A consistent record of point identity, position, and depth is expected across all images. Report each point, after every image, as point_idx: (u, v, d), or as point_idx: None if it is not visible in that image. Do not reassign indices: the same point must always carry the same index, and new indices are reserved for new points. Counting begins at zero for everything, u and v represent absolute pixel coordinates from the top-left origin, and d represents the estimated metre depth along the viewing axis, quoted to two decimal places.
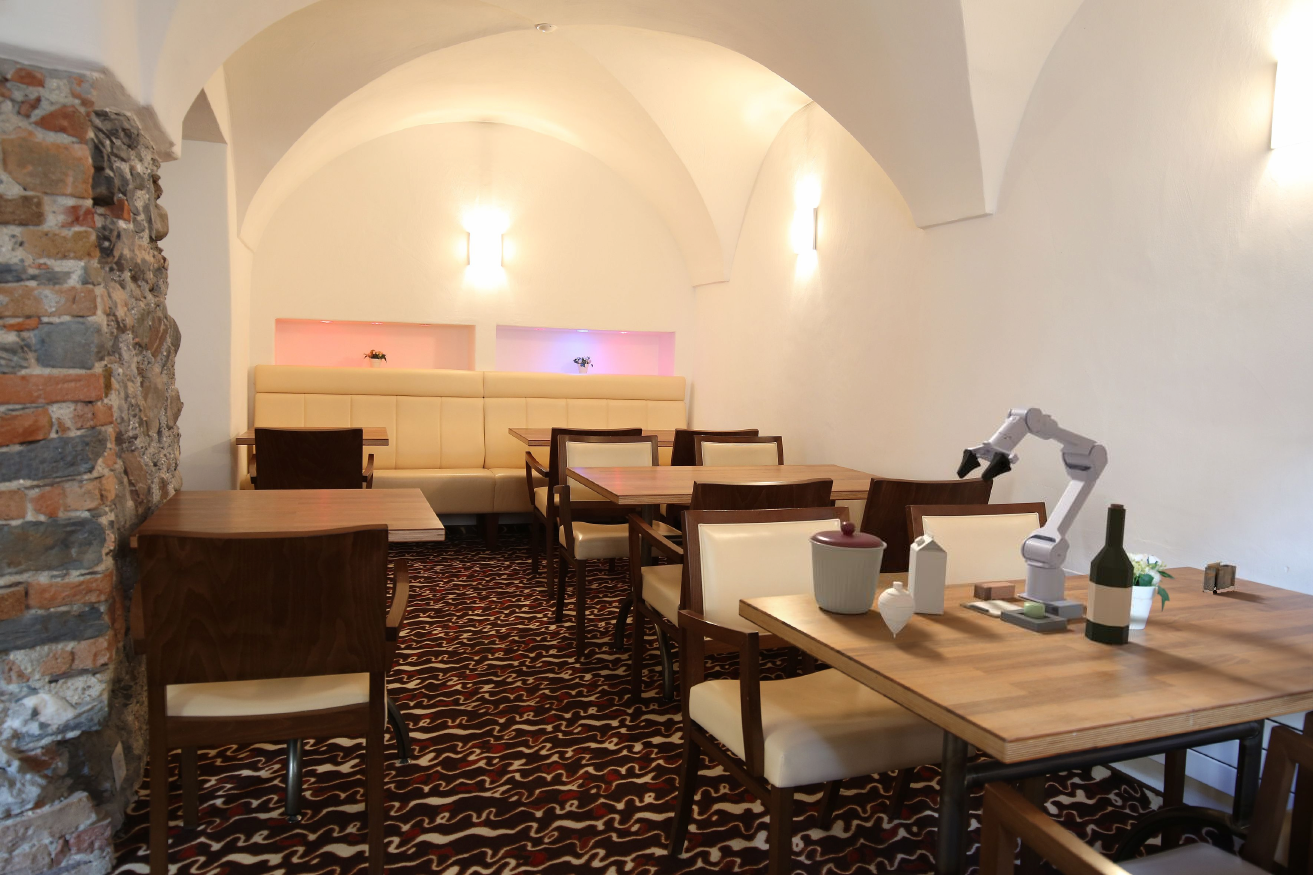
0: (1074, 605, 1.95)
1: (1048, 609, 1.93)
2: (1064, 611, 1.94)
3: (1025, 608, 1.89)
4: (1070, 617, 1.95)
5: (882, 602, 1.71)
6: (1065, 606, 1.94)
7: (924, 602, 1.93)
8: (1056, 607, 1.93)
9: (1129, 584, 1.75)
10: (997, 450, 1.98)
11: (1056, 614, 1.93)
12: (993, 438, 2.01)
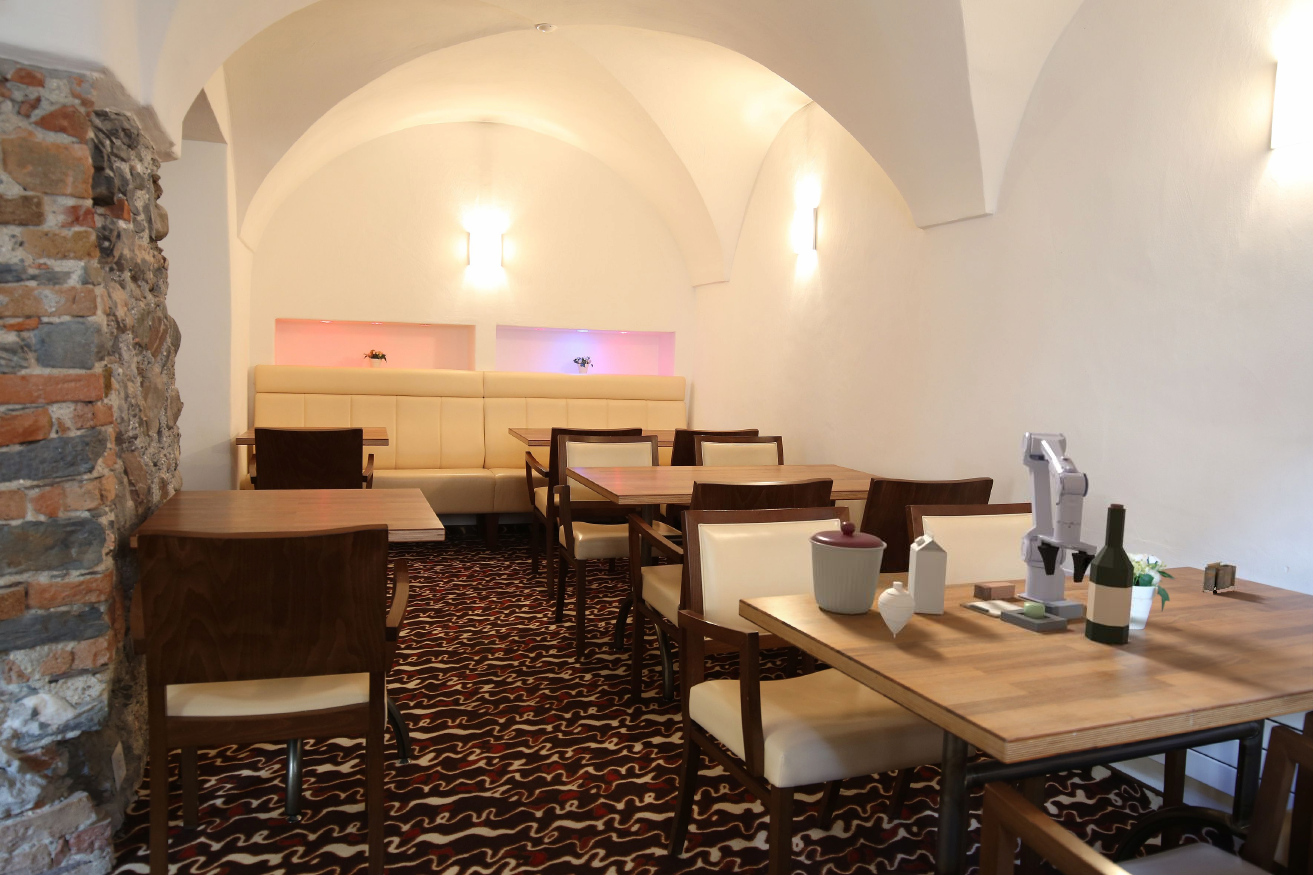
0: (1074, 605, 1.95)
1: (1048, 609, 1.93)
2: (1064, 611, 1.94)
3: (1025, 608, 1.89)
4: (1070, 617, 1.95)
5: (882, 602, 1.71)
6: (1065, 606, 1.94)
7: (924, 602, 1.93)
8: (1056, 607, 1.93)
9: (1129, 584, 1.75)
10: None
11: (1056, 614, 1.93)
12: (1058, 531, 1.94)
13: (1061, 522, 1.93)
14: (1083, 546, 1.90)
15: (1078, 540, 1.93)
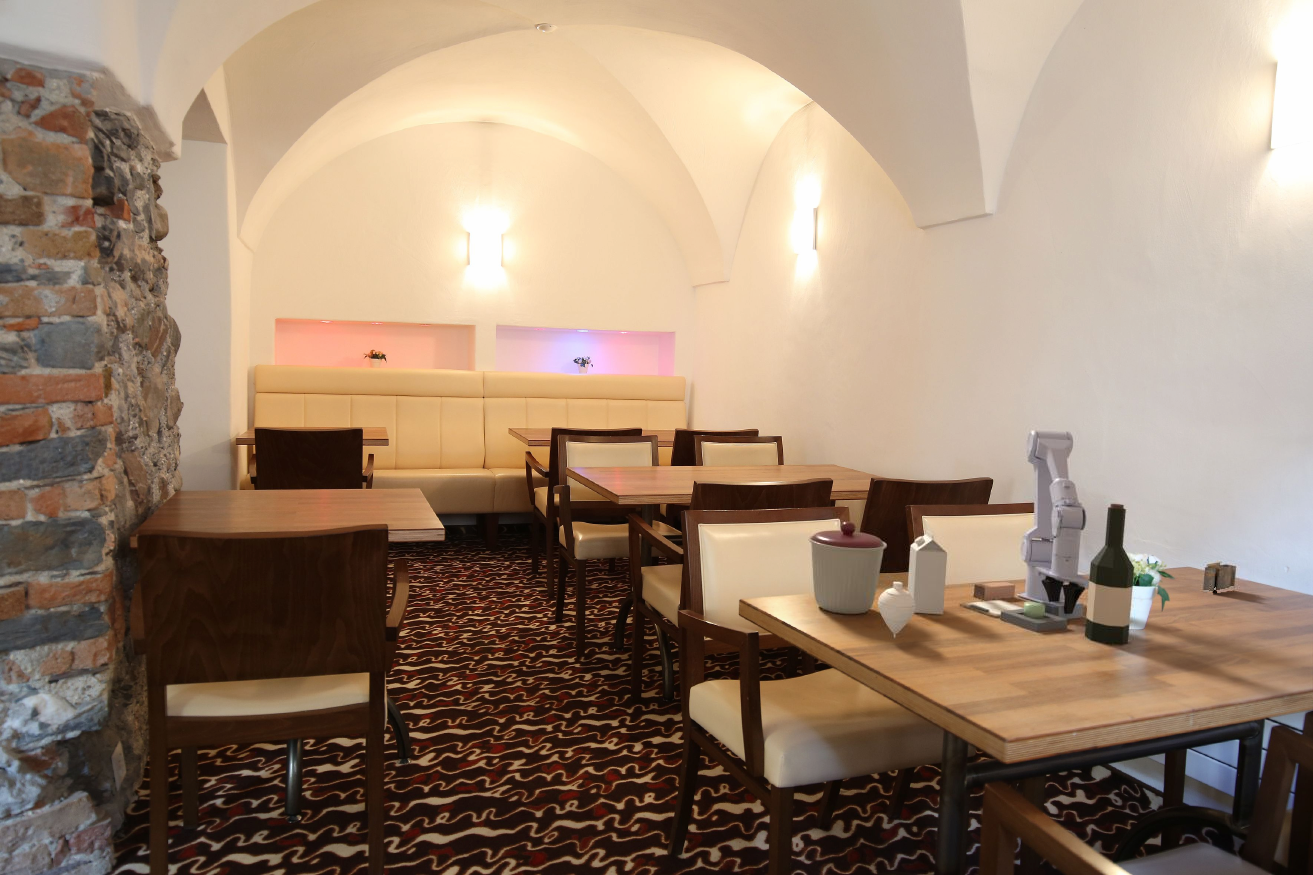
0: None
1: (1048, 609, 1.93)
2: None
3: (1025, 608, 1.89)
4: (1070, 617, 1.95)
5: (882, 602, 1.71)
6: None
7: (924, 602, 1.93)
8: (1056, 607, 1.93)
9: (1129, 584, 1.75)
10: (1068, 579, 1.92)
11: (1056, 614, 1.93)
12: (1056, 564, 1.94)
13: (1059, 555, 1.94)
14: (1081, 580, 1.90)
15: (1076, 573, 1.93)
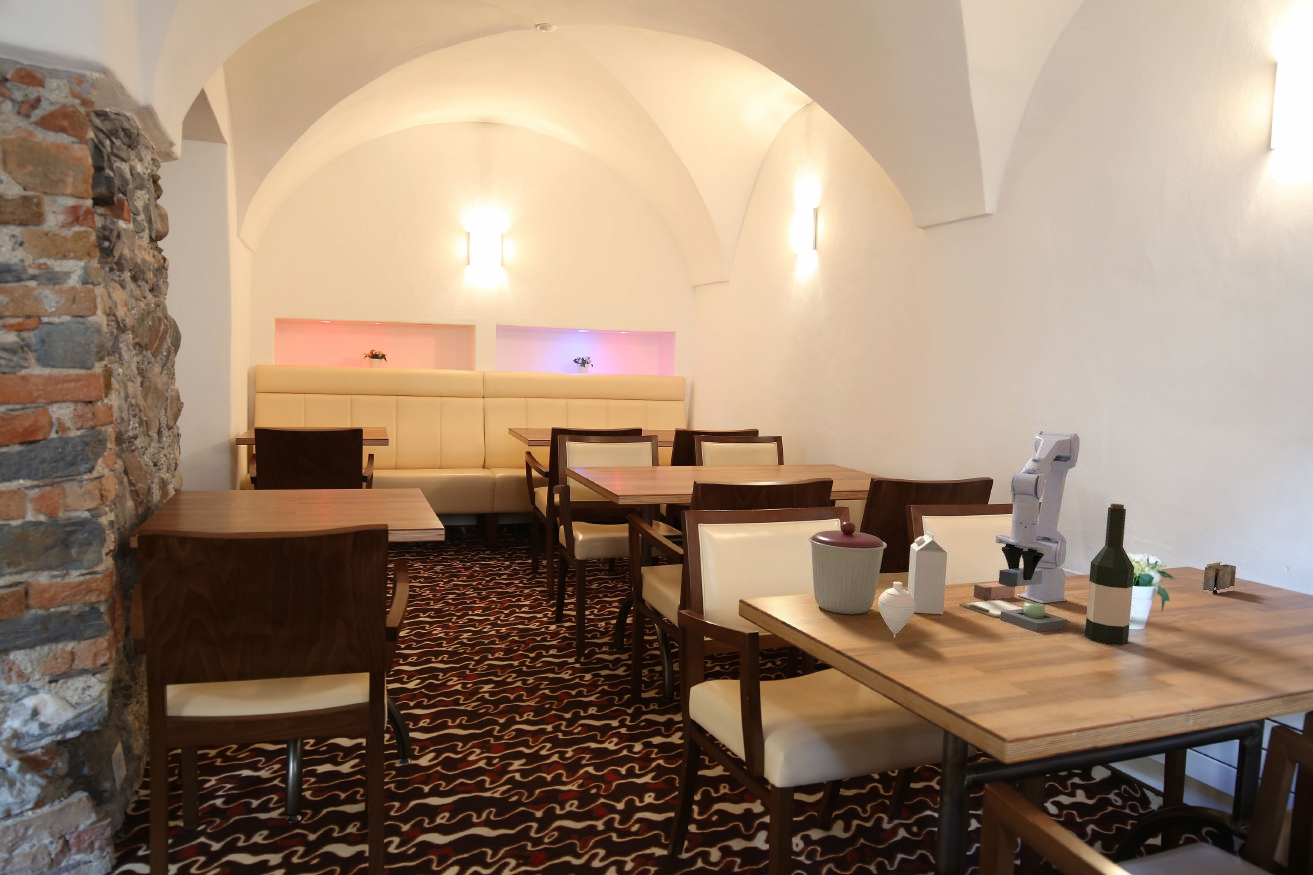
0: None
1: (1008, 575, 1.95)
2: None
3: (1025, 608, 1.89)
4: (1029, 583, 1.98)
5: (882, 602, 1.71)
6: None
7: (924, 602, 1.93)
8: (1015, 573, 1.95)
9: (1129, 584, 1.75)
10: None
11: (1015, 580, 1.95)
12: (1015, 531, 1.97)
13: (1018, 522, 1.96)
14: (1039, 546, 1.93)
15: (1034, 540, 1.96)
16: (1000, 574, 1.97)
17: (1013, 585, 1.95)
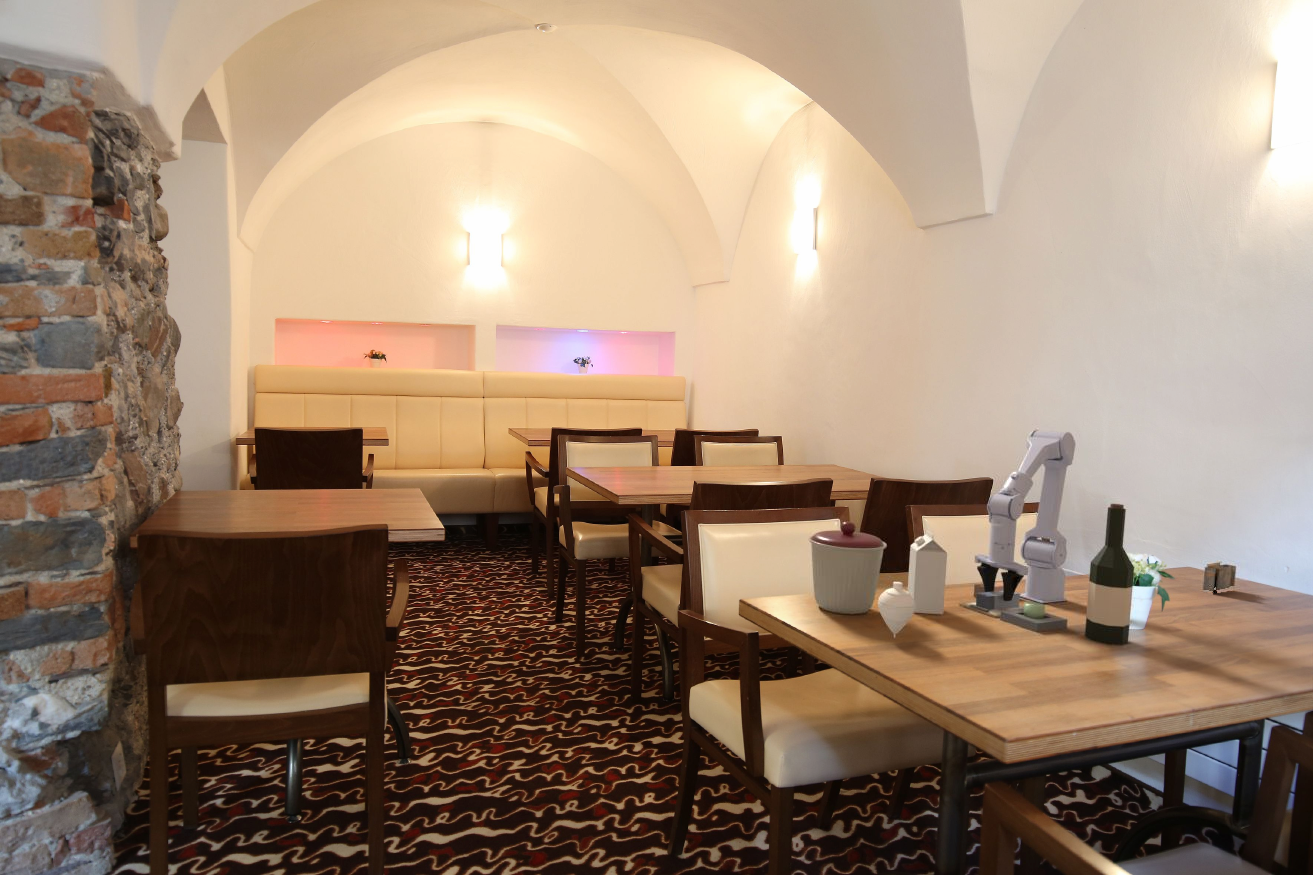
0: None
1: (984, 599, 1.97)
2: (999, 600, 1.99)
3: (1025, 608, 1.89)
4: (1006, 607, 2.00)
5: (882, 602, 1.71)
6: (1001, 596, 1.99)
7: (924, 602, 1.93)
8: (992, 597, 1.97)
9: (1129, 584, 1.75)
10: (1004, 566, 1.97)
11: (992, 603, 1.97)
12: (992, 551, 1.99)
13: (995, 543, 1.98)
14: (1015, 567, 1.95)
15: (1011, 560, 1.98)
16: (977, 598, 1.99)
17: (990, 608, 1.97)
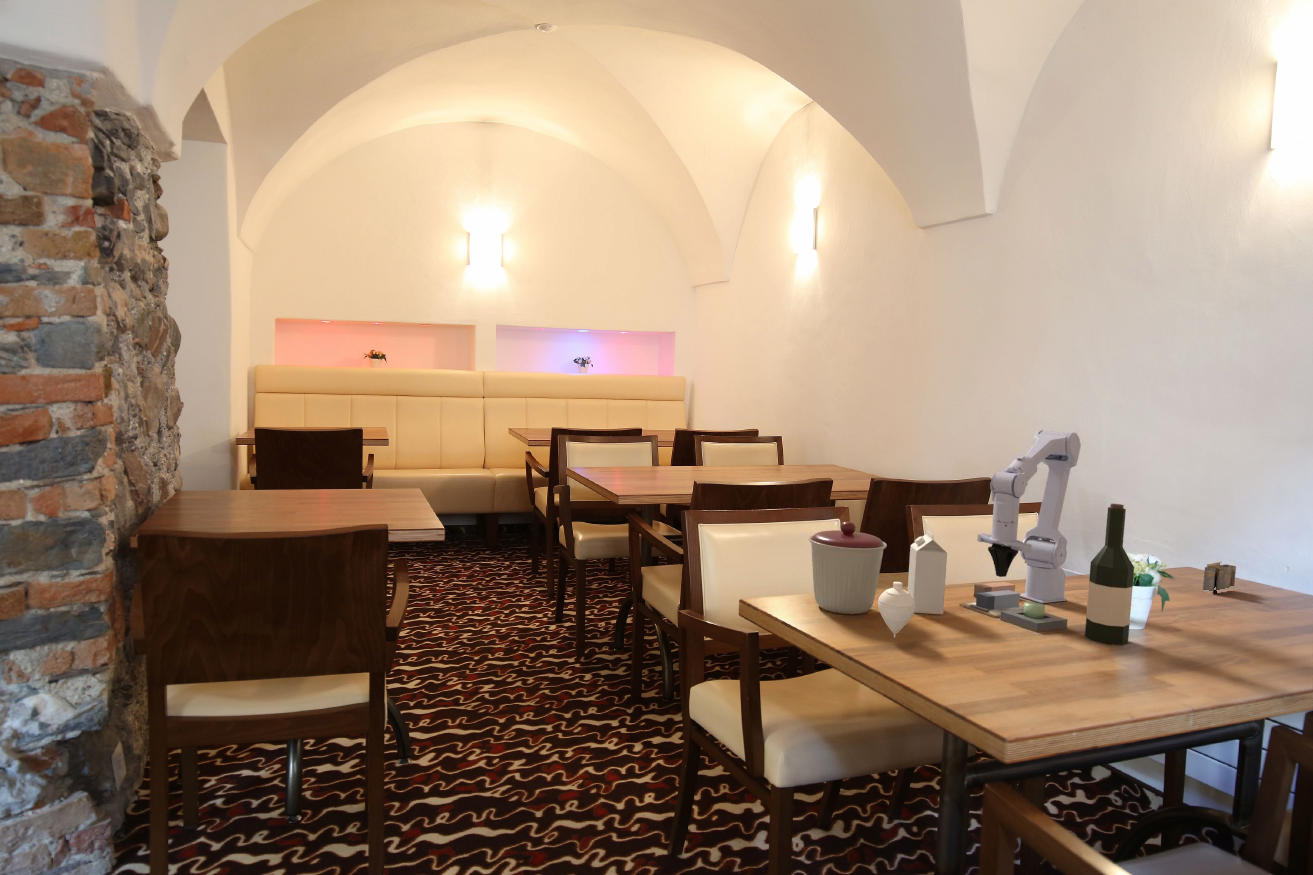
0: (1010, 595, 2.00)
1: (984, 599, 1.97)
2: (999, 600, 1.99)
3: (1025, 608, 1.89)
4: (1006, 607, 2.00)
5: (882, 602, 1.71)
6: (1001, 596, 1.99)
7: (924, 602, 1.93)
8: (992, 597, 1.97)
9: (1129, 584, 1.75)
10: (1007, 544, 1.96)
11: (992, 603, 1.97)
12: (995, 529, 1.98)
13: (998, 521, 1.97)
14: (1018, 544, 1.94)
15: (1014, 538, 1.97)
16: (977, 598, 1.99)
17: (990, 608, 1.97)
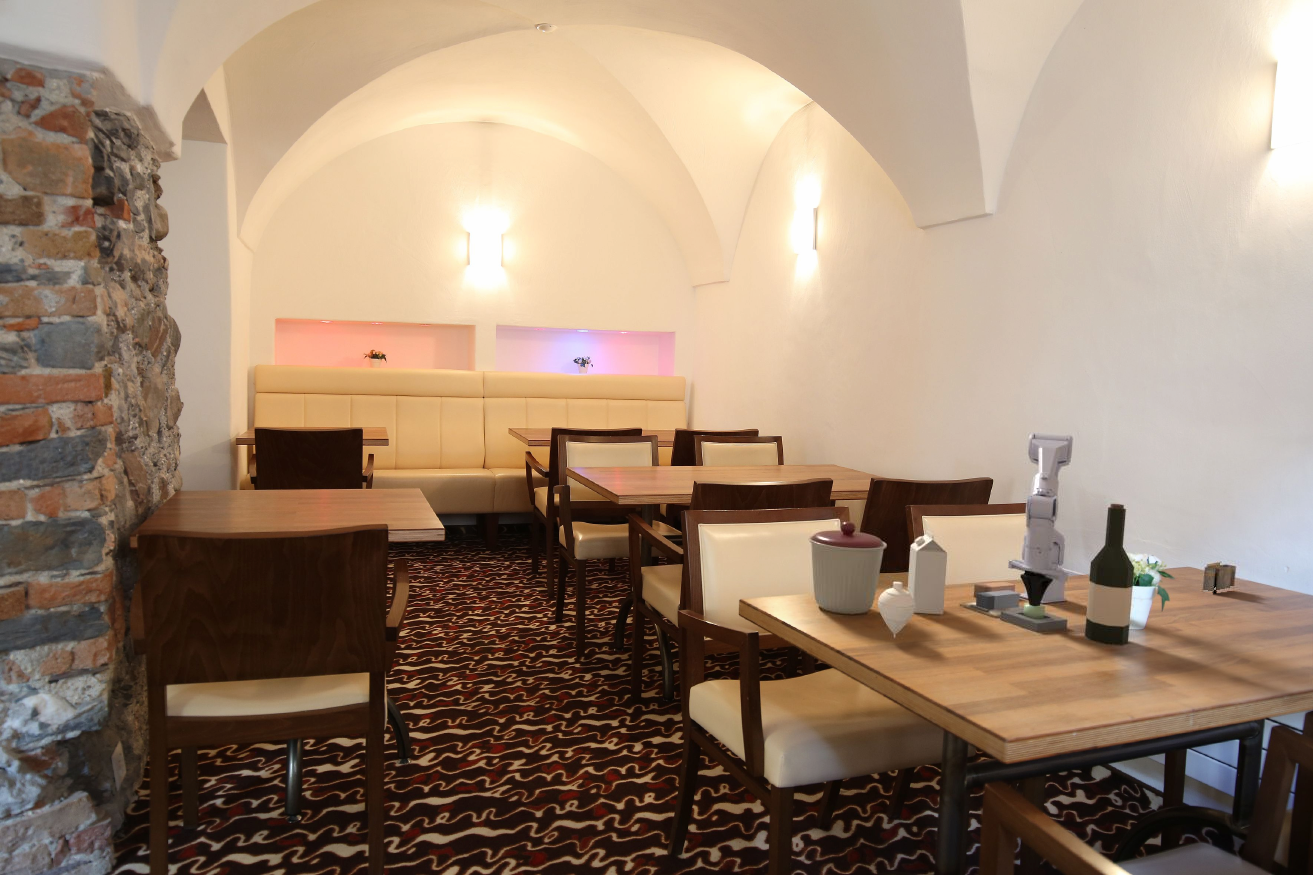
0: (1010, 595, 2.00)
1: (984, 599, 1.97)
2: (999, 600, 1.99)
3: (1025, 609, 1.89)
4: (1006, 607, 2.00)
5: (882, 602, 1.71)
6: (1001, 596, 1.99)
7: (924, 602, 1.93)
8: (992, 597, 1.97)
9: (1129, 584, 1.75)
10: (1041, 572, 1.85)
11: (992, 603, 1.97)
12: (1029, 556, 1.87)
13: (1032, 547, 1.86)
14: (1054, 573, 1.83)
15: (1049, 566, 1.86)
16: (977, 598, 1.99)
17: (990, 608, 1.97)
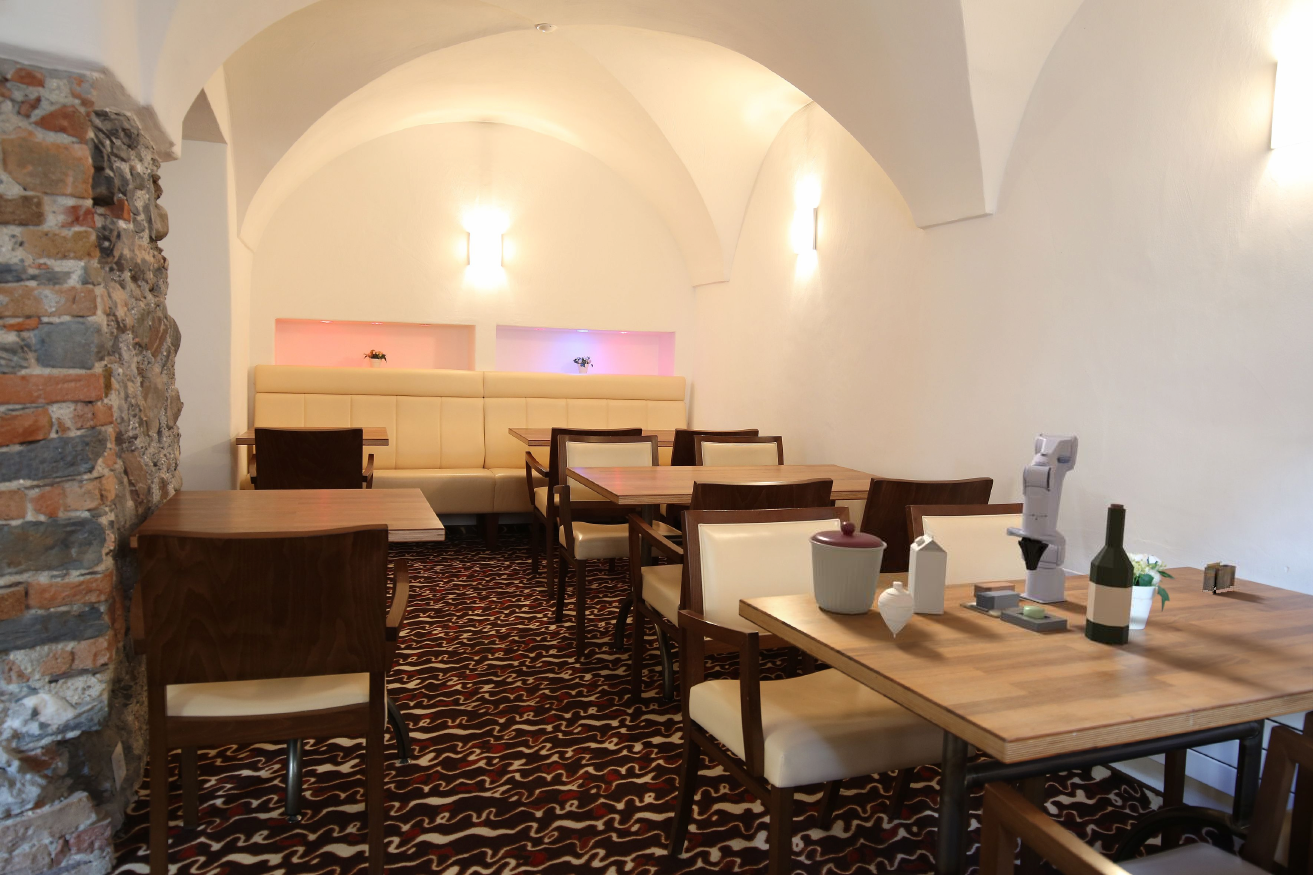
0: (1010, 595, 2.00)
1: (984, 599, 1.97)
2: (999, 600, 1.99)
3: (1025, 612, 1.89)
4: (1006, 607, 2.00)
5: (882, 602, 1.71)
6: (1001, 596, 1.99)
7: (924, 602, 1.93)
8: (992, 597, 1.97)
9: (1129, 584, 1.75)
10: (1038, 538, 1.95)
11: (992, 603, 1.97)
12: (1026, 523, 1.97)
13: (1028, 514, 1.97)
14: (1049, 538, 1.93)
15: (1045, 532, 1.96)
16: (977, 598, 1.99)
17: (990, 608, 1.97)
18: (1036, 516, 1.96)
